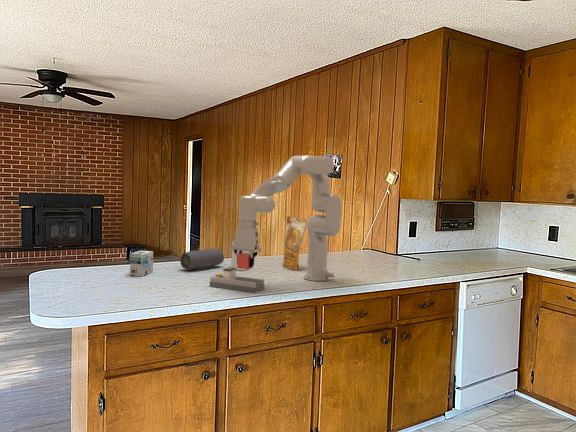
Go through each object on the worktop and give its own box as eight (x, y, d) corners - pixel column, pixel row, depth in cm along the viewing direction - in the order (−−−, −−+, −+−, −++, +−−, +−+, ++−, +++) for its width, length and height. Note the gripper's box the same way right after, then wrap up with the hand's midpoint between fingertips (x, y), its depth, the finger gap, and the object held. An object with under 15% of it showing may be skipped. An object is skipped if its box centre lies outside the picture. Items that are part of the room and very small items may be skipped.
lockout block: (253, 267, 200) (253, 253, 200) (247, 269, 195) (248, 255, 195) (243, 266, 202) (243, 252, 202) (237, 267, 197) (237, 254, 197)
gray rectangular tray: (264, 288, 201) (264, 276, 201) (254, 292, 192) (254, 280, 192) (221, 282, 210) (221, 270, 210) (209, 286, 201) (209, 274, 200)
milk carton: (231, 269, 240) (232, 233, 239) (236, 267, 247) (238, 232, 245) (243, 270, 238) (244, 234, 237) (248, 268, 245) (250, 233, 243)
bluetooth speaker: (212, 264, 252) (213, 246, 251) (224, 267, 246) (225, 248, 245) (179, 269, 234) (179, 250, 233) (190, 272, 228) (191, 252, 227)
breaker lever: (235, 280, 204) (235, 267, 204) (229, 282, 199) (229, 269, 199) (229, 279, 206) (229, 266, 205) (223, 282, 200) (223, 268, 200)
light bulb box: (142, 276, 214) (142, 254, 214) (129, 275, 216) (129, 253, 215) (153, 272, 225) (153, 251, 224) (140, 271, 226) (141, 250, 225)
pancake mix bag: (289, 264, 261) (291, 215, 259) (305, 271, 244) (307, 219, 242) (279, 265, 258) (281, 215, 256) (294, 271, 241) (296, 219, 239)
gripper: (268, 225, 198) (266, 266, 199) (234, 222, 204) (232, 262, 205) (260, 226, 191) (259, 269, 192) (225, 223, 197) (223, 264, 198)
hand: (245, 265), depth 199 cm, fingers closed on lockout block, 5 cm apart
